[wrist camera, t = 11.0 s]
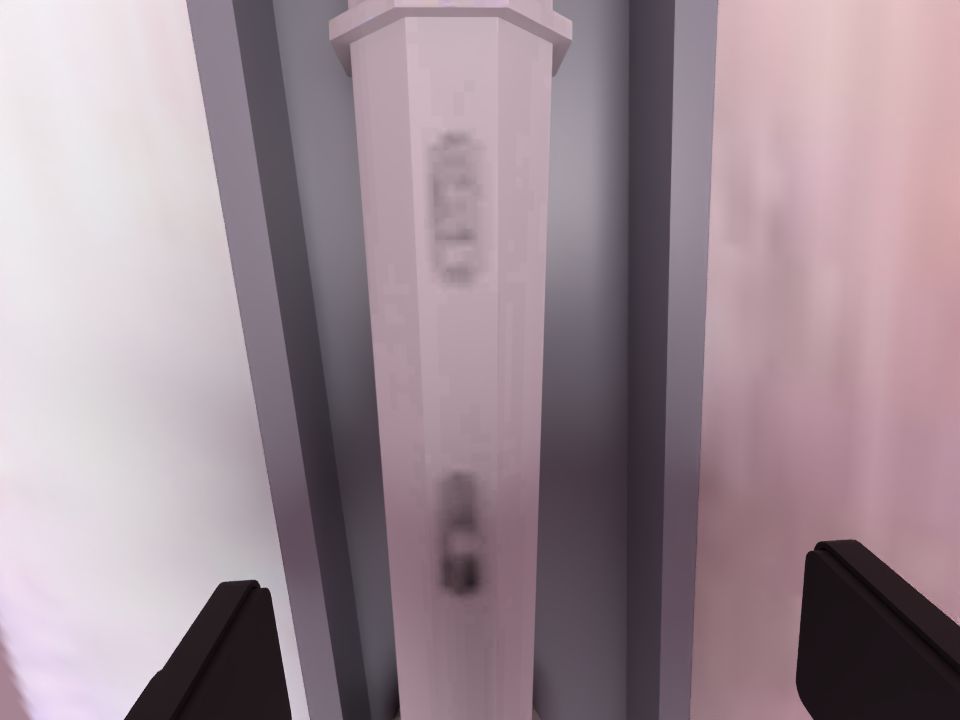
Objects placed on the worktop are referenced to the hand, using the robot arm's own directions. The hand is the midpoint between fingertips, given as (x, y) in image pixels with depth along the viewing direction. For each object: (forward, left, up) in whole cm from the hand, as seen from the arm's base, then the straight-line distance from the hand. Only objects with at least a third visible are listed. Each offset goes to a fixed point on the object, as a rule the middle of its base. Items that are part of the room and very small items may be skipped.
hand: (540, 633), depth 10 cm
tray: (+1, +1, -7) cm, 7 cm away
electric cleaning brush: (+1, +1, -7) cm, 7 cm away
